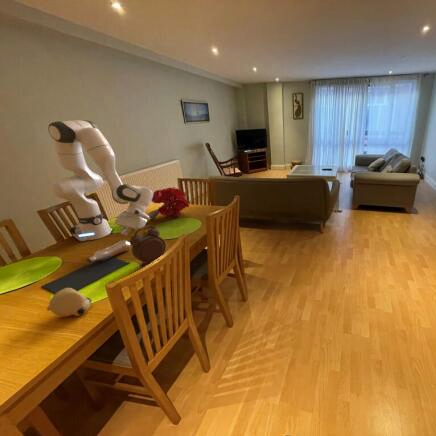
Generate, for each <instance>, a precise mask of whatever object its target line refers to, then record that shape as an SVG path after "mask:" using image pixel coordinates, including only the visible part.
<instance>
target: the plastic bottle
mask: <svg viewBox="0 0 436 436" xmlns="http://www.w3.org/2000/svg"><path fill="white" fill-rule="evenodd" d="M130 249H132V245H131V243H130V241H128V240H125V239H122V240H119V241H118V242H116V243H115V244H112V245H111V246H110V245H109V246H108V247H105V248H102V249H98V250H97V251H95V252H94V253H93V255H91V256H89V257H88V258H86V261H87V262H88V264H94V263H96V262H104V261H106V260H108V259H109V258H111V257H112V258H114V257H115V256H117V255H119V254H122V253H125V252H128V251H129V250H130Z"/></svg>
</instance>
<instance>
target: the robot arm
mask: <svg viewBox="0 0 436 436" xmlns="http://www.w3.org/2000/svg"><path fill="white" fill-rule="evenodd" d="M47 130H48V134H49V135H50V137H51V138H52V139H53V140H54V147H55V151H56V155H57V158H58V162H59V165H60V166H61V167H62V168H63V169H64V170H67V171H69V172H73V174H74V175H73V176H69V177H68V176H67V177H63V178H60V179H57V180H55V181H52V183H51V184H50V189H51V192H52V194H53V195H55V196H56V197H58V198H60V199H64V200H66V201H68V202H69V203H70V204H71V205H72V206H73V208H74V210H75V212H76V215H77V221H78V223H77V224H74V225H73V226H71V227H70V228H69V232H70V234H72V236H73V237H74V238H75V239H77V241H79V242H85V241H94V240H98V239H102V238H104V237H106V236H109V235H110V234H111V232H112V231H113V228H112V227H110V225H109V223H108V220H107V218H106V219H105V218H104V215H103V213H102V212H101V209H100V206H99V204H98V202H97V201H96V200H94V199H93V198H88V197H86V196H85V194H88V193H91V192H95V191H98V190H100V189H102V188H103V187H104V179H103V177H102V176H101V175H99V174H98V173H96V172H94V171H92V170H91V169H90V168H89V166H88V165H87V162H86V159H85V156H84V151H83V149H82V146H83V148H84V149H85V152H86V153H87V155H88V156H89V157H90V159H91V160H92V162H93V163H94V164H95V166H96V167H97V168H98V170H100V172H101V173H102V175H103V176H104V178H105V180H106V182H107V184H108V186H109V188H110V190H111V197H112V200H113V201H114V202H116V203H117V204H120V205H127V204H129V205H128V206H127V209H126V210H124V211H121V212H120V213H119V214H118V216H117V217H116V219H115V220H114V225H116V226H119V227H121V231H120V235H122V236H127V235H128V234H129V233H130V232H131V231H132V230H135V231H136V230H138V229H139V228H142V227H144V226H146V224H147V223H148V220H149V219H150V218H149V216H148V215H147V214H148V213H146V211H147V209H148V207H150V204H151V203H152V197H153V194H154V192H153V190H152V189H150V188H149V187H147V186H145V185H131V184H126V183H123V182H122V180H121V178H120V176H119V175H118V173H117V170H116V160H117V159H116V154H115V152H114V150H113V148H112V146H111V145H110V143H109V141H108V140H107V138H106V137H105V135H104V134H103V133H102V132H101V130H100V127H99V126H98V125H97V123H96V122H94V121H92V120H87V119H83V120H82V119H81V120H80V119H70V120H63V121H62V120H61V121H60V120H56V121H53V122H50V123H49V125H48V129H47ZM140 231H143V229H141V230H139V232H140Z"/></svg>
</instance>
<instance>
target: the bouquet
mask: <svg viewBox="0 0 436 436" xmlns="http://www.w3.org/2000/svg"><path fill="white" fill-rule="evenodd" d="M151 202H152V203H154V204H162V205H161V206H159V207H158V208H157V209H154V210H152V211H150V212H148V213H146V214H147V215H148V216H149V219H150V220H154V219H155V218H157V216H158V215H159V214H160V215H162V216H164V217H170V216H175V217H176V218H178V216H180V214H181V212H182V211H183V210H185V209H186V208H190V204H189V202H188V199H187V195H186V193H185V192H184V191H182V190H180V189H179V188H176V187H175V186H173V187H167V188H162V189H157V190H155V191H154V192H153V197H152V200H151Z"/></svg>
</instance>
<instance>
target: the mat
mask: <svg viewBox="0 0 436 436" xmlns="http://www.w3.org/2000/svg"><path fill="white" fill-rule="evenodd" d="M127 265H129V261H128V262H127V261H124V260H121V259H119V258H115V257H111V258H109V259H108V260H106V261H104V262H96V263H94V264H90V263H88V264H86V265H84V266H82V267H79V268H78V269H75V270H74V271H71V272H69V273H67V274H66V275H63V276H60V277H58V278H56V279H54V280H52V281H50V282H48V283H46V284H44V285H41V288H43V289H45V290H48V291H49V292H51V293H53V294H54V295H55V294H56V293H57V292H59V291H61V290H63V289H65V288H72V289H74V290H76V291H78V292H79V291H80V290H82V289H83V288H85V287H87V286H89V285H91V284H93V283H94V282H96V281H98V280H100V279H102V278H104V277H106V276H108V275H110V274H112V273H113V272H116V271H117V270H119V269H121V268H123V267H125V266H127Z"/></svg>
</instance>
